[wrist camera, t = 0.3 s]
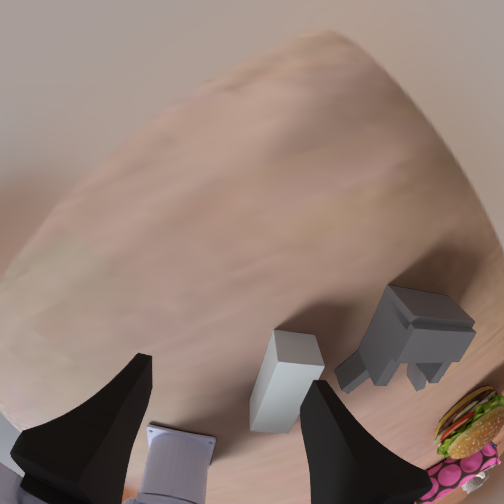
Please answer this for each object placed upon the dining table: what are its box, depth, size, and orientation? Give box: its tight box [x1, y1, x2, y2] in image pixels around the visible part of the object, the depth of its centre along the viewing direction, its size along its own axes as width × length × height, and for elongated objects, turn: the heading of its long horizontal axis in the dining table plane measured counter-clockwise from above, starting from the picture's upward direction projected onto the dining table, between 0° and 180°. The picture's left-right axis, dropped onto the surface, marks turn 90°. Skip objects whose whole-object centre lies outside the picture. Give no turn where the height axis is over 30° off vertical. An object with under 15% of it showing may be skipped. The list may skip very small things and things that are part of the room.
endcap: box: [335, 285, 476, 394], centre depth 21 cm, size 10×10×5 cm
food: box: [434, 386, 504, 459], centre depth 27 cm, size 14×14×8 cm
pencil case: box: [414, 441, 501, 504], centre depth 33 cm, size 21×10×10 cm, turn 131°
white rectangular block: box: [249, 329, 325, 434], centre depth 22 cm, size 9×4×4 cm, turn 168°
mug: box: [466, 470, 489, 494], centre depth 48 cm, size 10×7×7 cm
